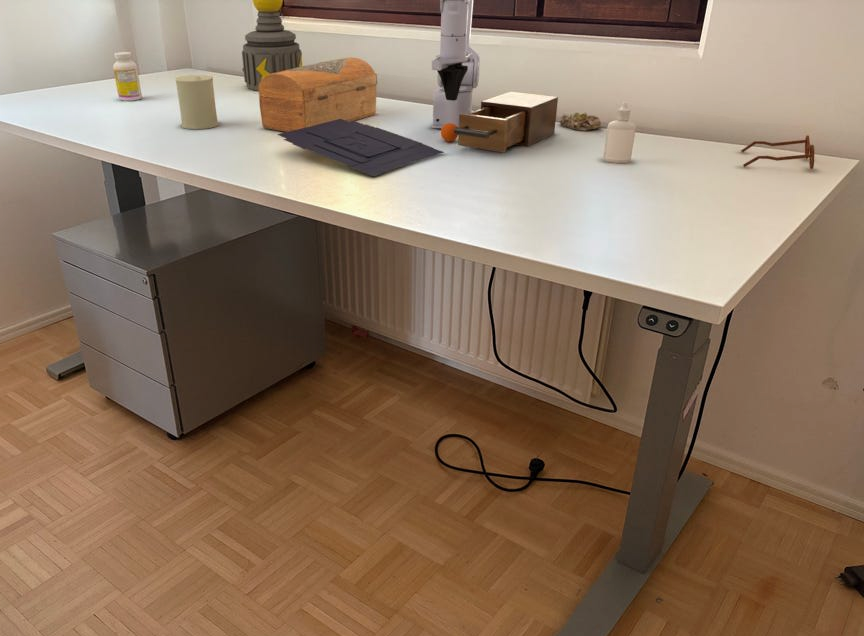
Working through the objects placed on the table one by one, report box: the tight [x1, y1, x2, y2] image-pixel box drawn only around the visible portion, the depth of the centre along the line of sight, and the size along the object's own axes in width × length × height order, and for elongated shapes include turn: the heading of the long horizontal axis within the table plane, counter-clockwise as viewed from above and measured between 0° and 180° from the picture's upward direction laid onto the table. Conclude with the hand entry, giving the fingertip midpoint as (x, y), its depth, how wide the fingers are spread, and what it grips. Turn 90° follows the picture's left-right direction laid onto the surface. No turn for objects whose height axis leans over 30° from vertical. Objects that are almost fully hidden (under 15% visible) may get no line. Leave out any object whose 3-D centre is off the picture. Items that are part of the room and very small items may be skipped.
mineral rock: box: [559, 112, 602, 132], centre depth 185 cm, size 11×4×8 cm
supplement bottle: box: [112, 51, 143, 102], centre depth 218 cm, size 7×7×13 cm
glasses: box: [740, 135, 815, 170], centre depth 155 cm, size 13×13×5 cm
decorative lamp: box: [241, 0, 303, 92], centre depth 230 cm, size 19×19×30 cm
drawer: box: [454, 106, 528, 153], centre depth 165 cm, size 18×11×7 cm, turn 145°
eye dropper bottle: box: [602, 101, 637, 164], centre depth 155 cm, size 4×6×12 cm
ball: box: [440, 123, 458, 143], centre depth 173 cm, size 4×4×4 cm
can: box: [174, 74, 219, 130], centre depth 187 cm, size 9×9×12 cm
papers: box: [276, 119, 445, 177], centre depth 163 cm, size 24×30×4 cm
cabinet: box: [480, 91, 559, 147], centre depth 175 cm, size 15×13×9 cm
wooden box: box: [258, 57, 378, 133], centre depth 190 cm, size 30×16×14 cm, turn 144°
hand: (451, 99), depth 169 cm, fingers closed
